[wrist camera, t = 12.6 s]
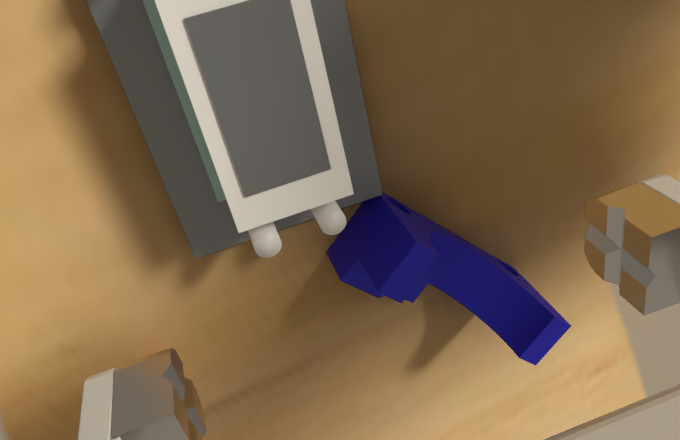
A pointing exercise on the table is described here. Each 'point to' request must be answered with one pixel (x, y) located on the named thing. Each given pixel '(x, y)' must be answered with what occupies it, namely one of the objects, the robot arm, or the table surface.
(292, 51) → the block
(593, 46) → the table surface
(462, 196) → the table surface
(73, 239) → the table surface
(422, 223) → the cable clip
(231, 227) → the pin tray
